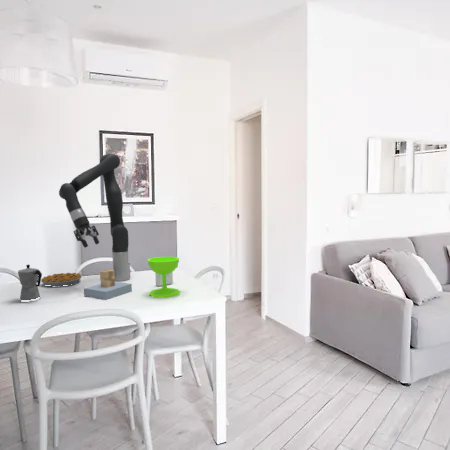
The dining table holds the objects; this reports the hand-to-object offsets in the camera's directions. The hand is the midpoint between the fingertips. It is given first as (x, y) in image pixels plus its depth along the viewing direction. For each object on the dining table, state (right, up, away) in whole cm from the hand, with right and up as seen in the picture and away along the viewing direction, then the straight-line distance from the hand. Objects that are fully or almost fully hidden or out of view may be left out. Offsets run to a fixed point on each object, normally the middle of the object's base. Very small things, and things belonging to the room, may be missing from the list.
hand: (92, 245), depth 212 cm
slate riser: (+10, -25, -6) cm, 28 cm away
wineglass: (+40, -25, -8) cm, 48 cm away
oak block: (+10, -21, -6) cm, 24 cm away
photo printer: (+37, -23, +11) cm, 45 cm away
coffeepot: (-25, -27, -15) cm, 40 cm away
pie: (-25, -24, +20) cm, 39 cm away
